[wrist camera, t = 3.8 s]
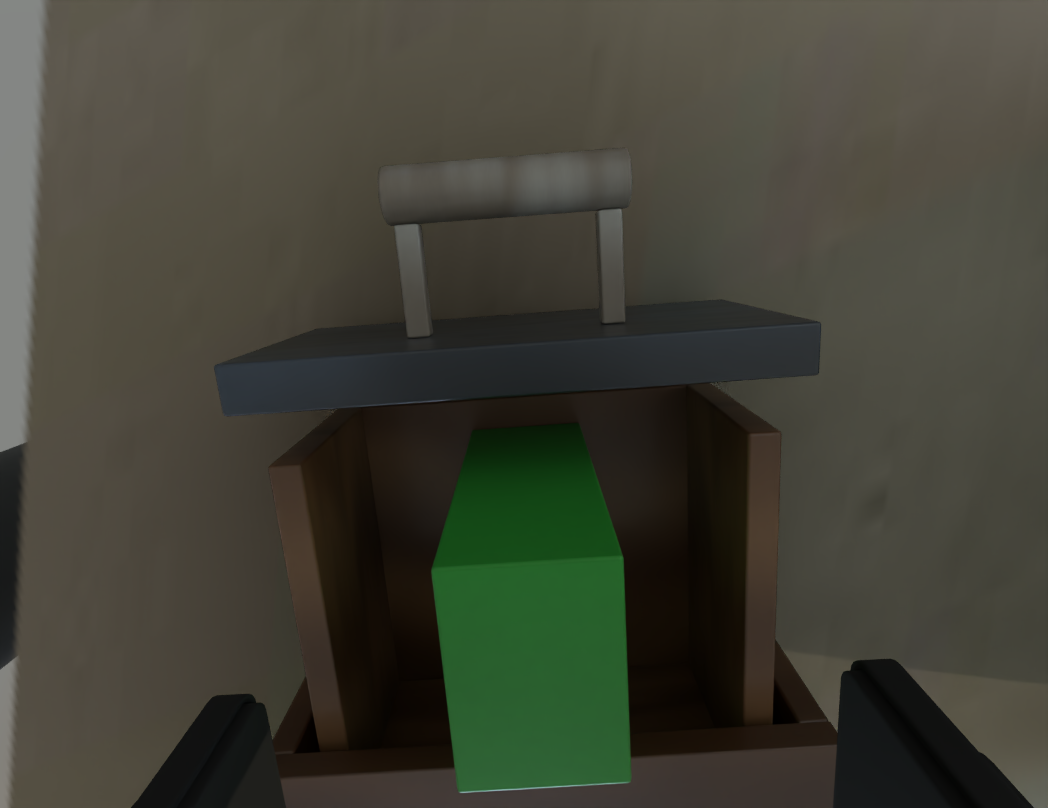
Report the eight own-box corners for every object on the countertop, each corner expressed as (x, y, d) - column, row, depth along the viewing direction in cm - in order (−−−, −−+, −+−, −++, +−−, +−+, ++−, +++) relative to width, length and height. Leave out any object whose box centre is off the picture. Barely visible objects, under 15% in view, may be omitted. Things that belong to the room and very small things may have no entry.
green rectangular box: (471, 429, 20) (430, 569, 11) (579, 421, 20) (623, 556, 11) (485, 568, 21) (456, 795, 12) (586, 562, 21) (632, 784, 12)
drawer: (294, 194, 19) (172, 162, 12) (723, 161, 19) (832, 112, 12) (368, 680, 23) (307, 850, 17) (720, 659, 23) (800, 822, 16)
